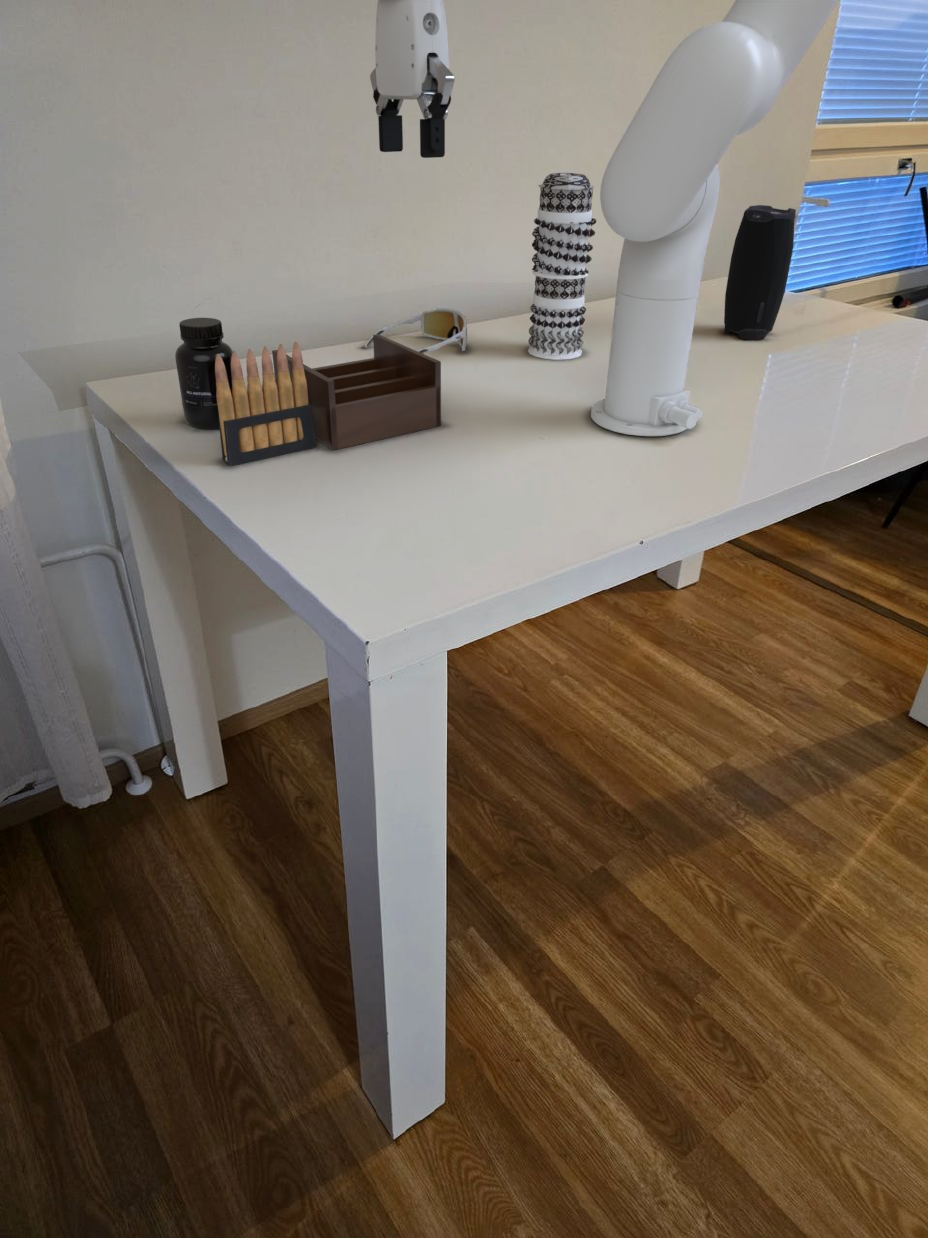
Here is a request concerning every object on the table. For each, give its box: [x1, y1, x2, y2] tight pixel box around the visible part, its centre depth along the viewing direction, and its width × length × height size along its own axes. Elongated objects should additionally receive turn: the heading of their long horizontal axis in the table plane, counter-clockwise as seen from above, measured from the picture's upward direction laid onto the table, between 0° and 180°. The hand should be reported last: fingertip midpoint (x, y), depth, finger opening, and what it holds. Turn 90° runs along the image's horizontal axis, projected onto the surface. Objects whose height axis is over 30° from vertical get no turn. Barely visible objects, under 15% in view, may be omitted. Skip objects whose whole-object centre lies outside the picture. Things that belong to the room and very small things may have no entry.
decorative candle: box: [527, 172, 597, 361], centre depth 127 cm, size 9×9×25 cm
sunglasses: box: [364, 307, 468, 354], centre depth 133 cm, size 14×15×5 cm
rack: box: [271, 333, 442, 451], centre depth 104 cm, size 15×15×8 cm
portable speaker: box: [723, 204, 797, 341], centre depth 139 cm, size 9×9×20 cm
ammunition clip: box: [215, 341, 317, 467], centre depth 93 cm, size 11×2×12 cm, turn 125°
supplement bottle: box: [174, 317, 234, 430], centre depth 102 cm, size 7×7×12 cm
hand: (411, 154), depth 106 cm, fingers open, 9 cm apart
